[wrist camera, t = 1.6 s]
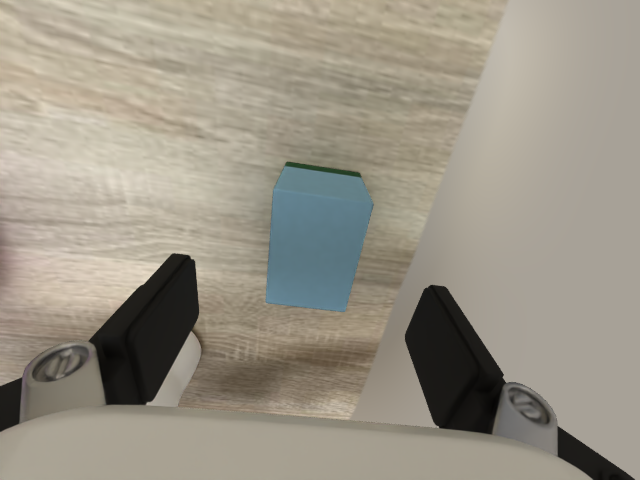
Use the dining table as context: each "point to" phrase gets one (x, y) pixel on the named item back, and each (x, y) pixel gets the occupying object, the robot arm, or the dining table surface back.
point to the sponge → (316, 236)
